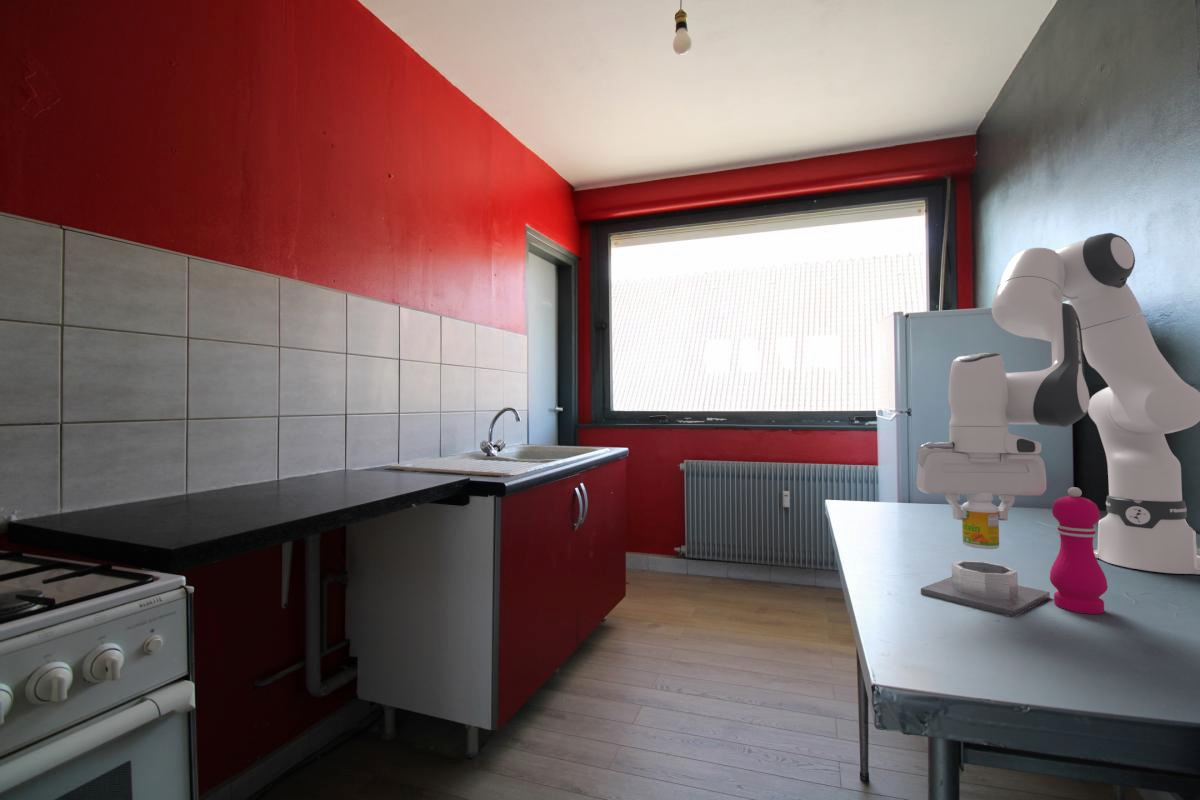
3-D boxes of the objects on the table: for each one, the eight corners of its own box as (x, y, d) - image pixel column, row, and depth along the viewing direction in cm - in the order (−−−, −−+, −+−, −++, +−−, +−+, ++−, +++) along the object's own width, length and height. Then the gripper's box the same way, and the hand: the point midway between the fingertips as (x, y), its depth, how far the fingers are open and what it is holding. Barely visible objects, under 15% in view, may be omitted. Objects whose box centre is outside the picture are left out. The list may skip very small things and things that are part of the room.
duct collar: (960, 578, 107) (960, 552, 107) (1049, 597, 95) (1048, 569, 95) (920, 593, 98) (920, 565, 98) (1013, 617, 86) (1012, 585, 86)
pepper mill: (1120, 617, 86) (1115, 490, 86) (1067, 614, 87) (1063, 489, 88) (1089, 601, 93) (1084, 484, 94) (1041, 599, 94) (1037, 484, 95)
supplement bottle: (955, 543, 99) (954, 490, 99) (977, 541, 100) (976, 489, 101) (984, 550, 94) (982, 494, 94) (1007, 548, 95) (1005, 492, 95)
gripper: (925, 443, 95) (927, 521, 95) (1051, 443, 93) (1053, 524, 93) (909, 441, 102) (910, 515, 101) (1027, 441, 99) (1029, 517, 99)
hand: (980, 519), depth 97 cm, fingers closed on supplement bottle, 5 cm apart
